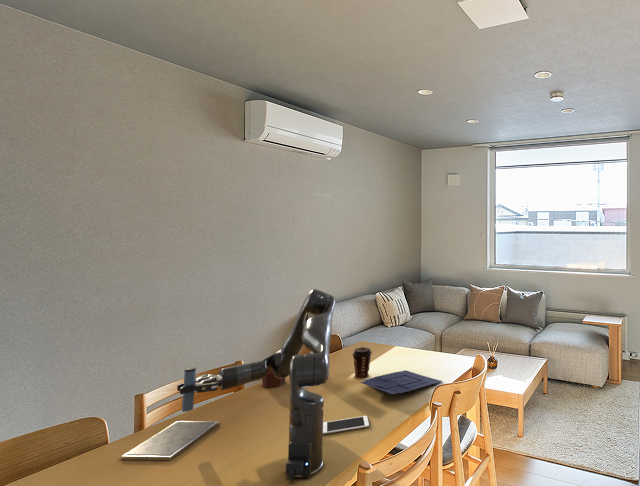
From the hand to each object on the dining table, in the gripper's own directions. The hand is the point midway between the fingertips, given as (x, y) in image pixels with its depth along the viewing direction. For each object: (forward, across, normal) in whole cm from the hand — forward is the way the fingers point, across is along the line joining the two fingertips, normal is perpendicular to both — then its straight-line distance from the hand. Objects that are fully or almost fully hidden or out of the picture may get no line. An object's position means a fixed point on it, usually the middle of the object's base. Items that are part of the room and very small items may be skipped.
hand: (179, 389), depth 134 cm
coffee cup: (-72, -1, +15) cm, 73 cm away
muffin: (-40, -22, +15) cm, 48 cm away
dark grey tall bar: (-3, 0, +8) cm, 8 cm away
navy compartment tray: (-77, +22, +15) cm, 82 cm away
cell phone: (-42, +36, +15) cm, 57 cm away
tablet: (+2, +4, +15) cm, 16 cm away
